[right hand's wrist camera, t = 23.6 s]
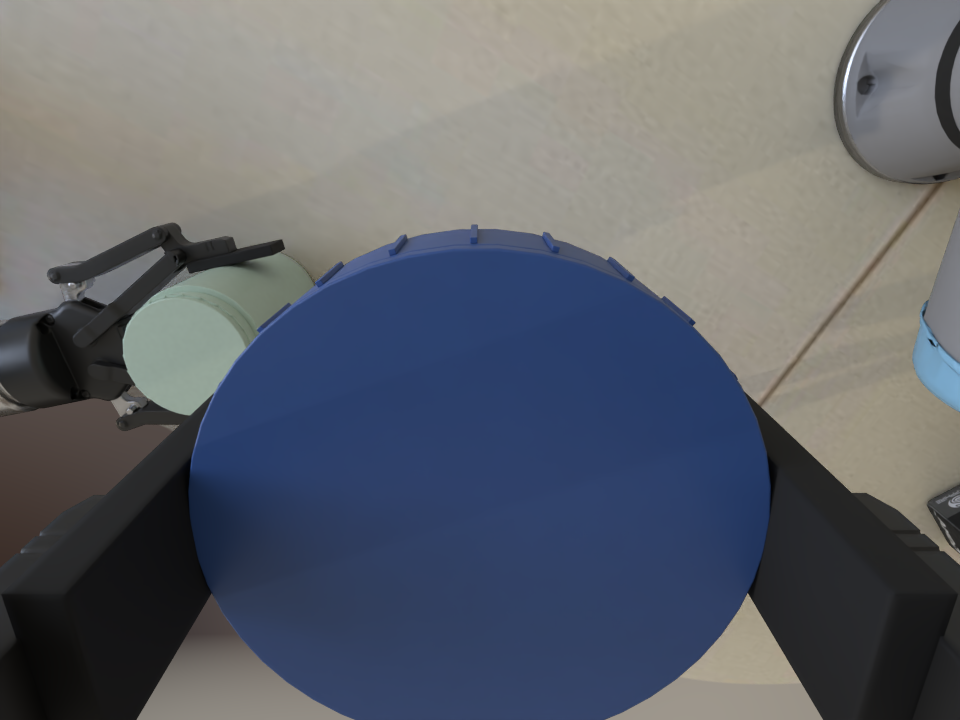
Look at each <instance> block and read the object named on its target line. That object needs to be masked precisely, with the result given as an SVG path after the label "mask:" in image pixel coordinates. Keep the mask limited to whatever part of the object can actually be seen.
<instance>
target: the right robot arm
mask: <svg viewBox="0 0 960 720" xmlns="http://www.w3.org/2000/svg"><path fill="white" fill-rule="evenodd" d="M834 114H835V121H836V125H837V129H838V132H839V135H840V138H841V140H842V142H843V144H844V146H845V148H846V149H847V151H848V152H849V154H850V155H851V156H852V157H853V159H854V160H855V161H856V162H857V163H858V164H859V165H860V166H862V167H863V168H864V169H866V170H867V171H869V172H870V173H872V174H874V175H876V176H878V177H881V178H883V179H886V180H890V181H895V182H902V183H912V184H932V183H940V182H944V181H950V180H954V179H957V178H960V0H881V1H880V2H879V3H878V4H877V5H876V6H875V7H874V8H873V9H872V10H871V11H870V12H869V14H868V15H867V16H866V17H865V18H864V20H863V21H862V22H861V24H860V25H859V26H858V28H857V30H856V31H855V33H854V34H853V36H852V38H851V40H850V42H849V43H848V45H847V47H846V50H845V52H844V54H843V57H842V59H841V62H840V65H839V69H838V73H837V77H836V82H835V88H834ZM912 359H913V363H914V369H915V370H916V374H917V376H918V378H919V379H920V381H921V382H922V383H923V384H924V386H925V387H926V388H927V389H928V390H929V391H930V392H931V393H932V394H934V395H935V396H936V397H937V398H939V399H940V400H941V401H943V402H944V403H946V404H947V405H949V406H950V407H952V408H953V409H955V410H957V411H958V412H960V209H959V212H958V215H957V218H956V221H955V224H954V227H953V230H952V233H951V236H950V239H949V242H948V245H947V248H946V251H945V254H944V257H943V260H942V263H941V266H940V269H939V272H938V275H937V278H936V281H935V284H934V287H933V290H932V293H931V295H930V298H929V300H928V301H926V302H925V303H924V305H923V307H922V309H921V311H920V329H919V332H918V336H917V339H916V343H915V346H914V350H913V358H912ZM214 393H215V392H214ZM214 393H213V394H212V395H211V396H210V397H209V398H208V399H207V400H206V401H205V402H204V403H203V404H202V405H201V406H200V407H198V408H197V409H196V410H195V411H194V412H193V413H192V414H191V415H190V416H189V417H188V418H187V419H186V420H185V421H184V422H183V423H182V424H180V425H179V426H178V427H177V428H176V429H175V430H174V431H173V432H172V433H171V434H170V435H169V436H168V437H167V438H166V439H165V440H164V441H162V442H161V443H160V444H159V445H158V446H157V447H156V448H155V449H154V450H153V451H152V452H151V453H150V454H149V455H148V456H147V457H146V458H144V459H143V460H142V461H141V462H140V463H139V464H138V465H137V466H136V467H135V468H134V469H133V470H132V471H131V472H130V473H129V474H128V475H126V476H125V477H124V478H123V479H122V480H121V481H120V482H119V483H118V484H117V485H116V486H115V487H114V488H113V489H112V490H111V491H110V492H108V493H107V494H106V495H93V496H91V497H90V498H88V499H86V500H84V501H82V502H80V503H79V504H77V505H75V506H73V507H71V508H70V509H68V510H66V511H64V512H63V513H61V514H60V515H59V516H58V517H57V518H56V519H55V520H54V521H52V522H51V523H50V524H49V525H48V526H47V527H46V528H45V529H43V530H42V531H41V532H40V536H36V537H34V538H33V539H32V540H31V541H30V542H29V543H28V544H26V545H25V546H24V547H23V548H22V549H21V553H20V554H15V555H14V556H13V557H12V558H11V559H10V560H8V561H7V562H6V563H5V564H4V565H3V566H2V567H1V568H0V720H137V718H138V716H139V714H140V713H141V711H142V709H143V708H144V706H145V704H146V703H147V701H148V699H149V698H150V696H151V694H152V693H153V691H154V689H155V687H156V686H157V684H158V682H159V681H160V679H161V677H162V676H163V674H164V672H165V671H166V669H167V667H168V665H169V664H170V662H171V661H172V659H173V657H174V655H175V654H176V652H177V650H178V649H179V647H180V645H181V644H182V642H183V640H184V639H185V637H186V635H187V634H188V632H189V630H190V629H191V627H192V625H193V623H194V622H195V620H196V618H197V617H198V615H199V613H200V612H201V610H202V608H203V607H204V605H205V603H206V602H207V600H208V598H209V597H210V595H211V593H212V592H211V591H210V589H209V587H208V585H207V582H206V580H205V577H204V574H203V571H202V569H201V566H200V563H199V560H198V556H197V551H196V546H195V541H194V536H193V531H192V526H191V521H190V514H189V496H188V488H189V478H190V469H191V459H192V454H193V450H194V447H195V443H196V439H197V435H198V432H199V428H200V424H201V422H202V420H203V417H204V415H205V413H206V411H207V408H208V406H209V404H210V402H211V399H212V397H213V395H214ZM744 393H745V392H744ZM745 395H746V397H747V399H748V401H749V403H750V406H751V408H752V410H753V412H754V414H755V416H756V418H757V421H758V424H759V428H760V431H761V435H762V438H763V441H764V445H765V448H766V452H767V459H768V467H769V475H770V482H771V501H770V519H769V524H768V529H767V534H766V540H765V545H764V550H763V554H762V558H761V561H760V564H759V567H758V570H757V573H756V576H755V579H754V581H753V583H752V585H751V587H750V589H749V591H748V594H749V596H750V597H751V599H752V601H753V602H754V604H755V606H756V607H757V609H758V611H759V612H760V614H761V616H762V617H763V619H764V621H765V622H766V624H767V626H768V628H769V629H770V631H771V633H772V634H773V636H774V638H775V639H776V641H777V643H778V644H779V646H780V648H781V649H782V651H783V653H784V654H785V656H786V658H787V660H788V661H789V663H790V665H791V666H792V668H793V670H794V671H795V673H796V675H797V676H798V678H799V680H800V681H801V683H802V685H803V686H804V688H805V690H806V692H807V693H808V695H809V697H810V698H811V700H812V702H813V703H814V705H815V707H816V708H817V710H818V712H819V713H820V715H821V717H822V718H823V720H960V565H959V564H958V563H957V562H956V561H954V560H953V559H952V558H951V557H950V556H949V555H948V554H947V553H945V552H944V551H940V550H939V546H937V545H936V544H935V543H934V542H933V541H932V540H931V539H930V538H928V537H927V536H926V535H925V534H920V530H919V529H918V528H917V527H916V526H915V525H914V524H913V523H911V522H910V521H909V520H908V519H907V518H906V517H905V516H903V515H902V514H901V513H900V512H899V511H898V510H896V509H894V508H893V507H891V506H889V505H887V504H885V503H883V502H882V501H880V500H878V499H876V498H874V497H873V496H871V495H869V494H867V493H851V492H850V491H849V490H848V489H847V488H846V487H845V486H844V485H843V484H842V483H841V482H839V481H838V480H837V479H836V478H835V477H834V476H833V475H832V474H831V473H830V472H829V471H828V470H827V469H826V468H825V467H824V466H823V465H821V464H820V463H819V462H818V461H817V460H816V459H815V458H814V457H813V456H812V455H811V454H810V453H809V452H808V451H807V450H806V449H805V448H803V447H802V446H801V445H800V444H799V443H798V442H797V441H796V440H795V439H794V438H793V437H792V436H791V435H790V434H789V433H788V432H787V431H785V430H784V429H783V428H782V427H781V426H780V425H779V424H778V423H777V422H776V421H775V420H774V419H773V418H772V417H771V416H770V415H769V414H767V413H766V412H765V411H764V410H763V409H762V408H761V407H760V406H759V405H758V404H757V403H756V402H755V401H754V400H753V399H752V398H751V397H750V396H748V395H747V394H746V393H745Z"/></svg>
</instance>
